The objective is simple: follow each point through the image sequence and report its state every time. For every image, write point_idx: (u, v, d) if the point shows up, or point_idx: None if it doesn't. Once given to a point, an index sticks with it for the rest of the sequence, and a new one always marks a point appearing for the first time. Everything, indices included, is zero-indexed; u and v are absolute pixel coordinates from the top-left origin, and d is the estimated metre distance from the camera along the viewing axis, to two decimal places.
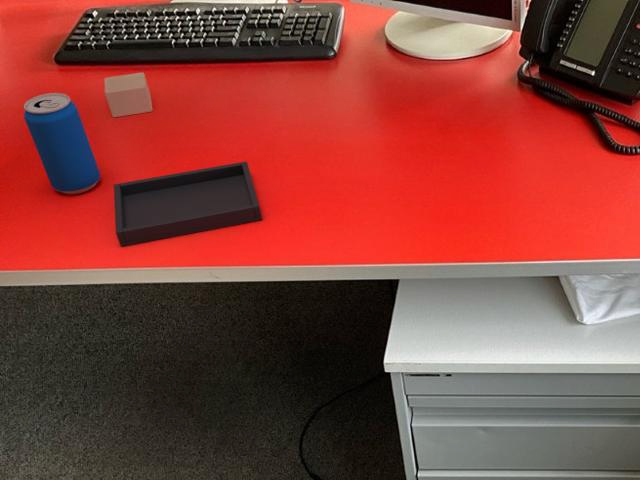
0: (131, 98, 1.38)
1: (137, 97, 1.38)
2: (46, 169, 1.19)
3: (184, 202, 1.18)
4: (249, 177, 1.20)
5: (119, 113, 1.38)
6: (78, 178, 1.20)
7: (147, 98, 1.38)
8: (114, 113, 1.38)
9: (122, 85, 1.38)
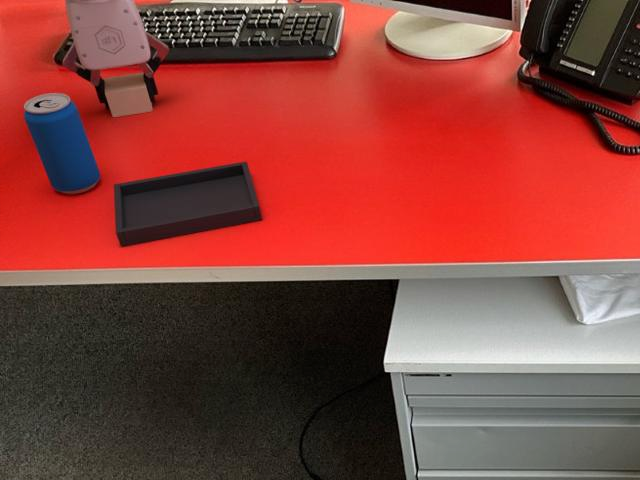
0: (131, 98, 1.38)
1: (137, 97, 1.38)
2: (46, 169, 1.19)
3: (184, 202, 1.18)
4: (249, 177, 1.20)
5: (119, 113, 1.38)
6: (78, 178, 1.20)
7: (147, 98, 1.38)
8: (114, 113, 1.38)
9: (122, 85, 1.38)
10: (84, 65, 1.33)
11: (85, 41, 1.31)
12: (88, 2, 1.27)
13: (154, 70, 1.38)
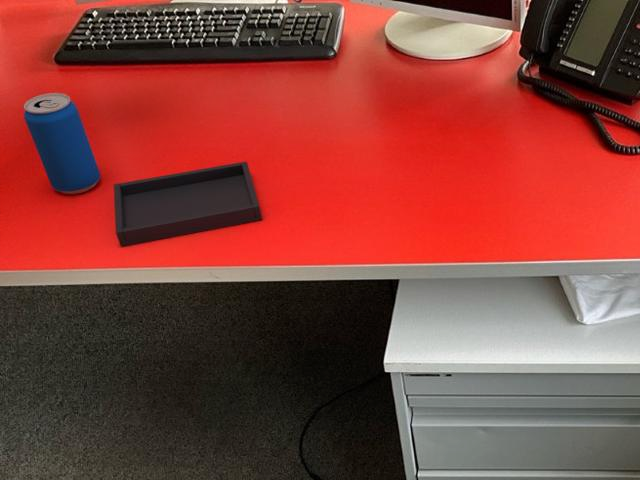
0: None
1: None
2: (46, 169, 1.19)
3: (184, 202, 1.18)
4: (249, 177, 1.20)
5: (84, 0, 1.24)
6: (78, 178, 1.20)
7: None
8: None
9: None
10: None
11: None
12: None
13: None
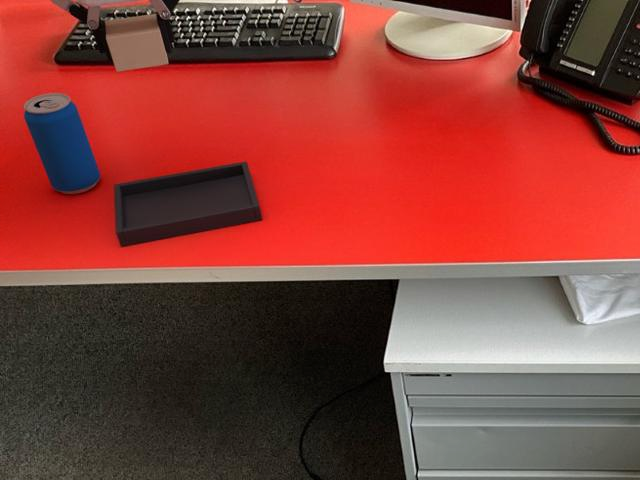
0: (141, 45, 1.05)
1: (149, 44, 1.05)
2: (46, 169, 1.19)
3: (184, 202, 1.18)
4: (249, 177, 1.20)
5: (125, 66, 1.05)
6: (78, 178, 1.20)
7: (162, 46, 1.05)
8: (118, 65, 1.05)
9: (129, 29, 1.05)
10: (79, 0, 1.00)
11: None
12: None
13: (171, 9, 1.05)
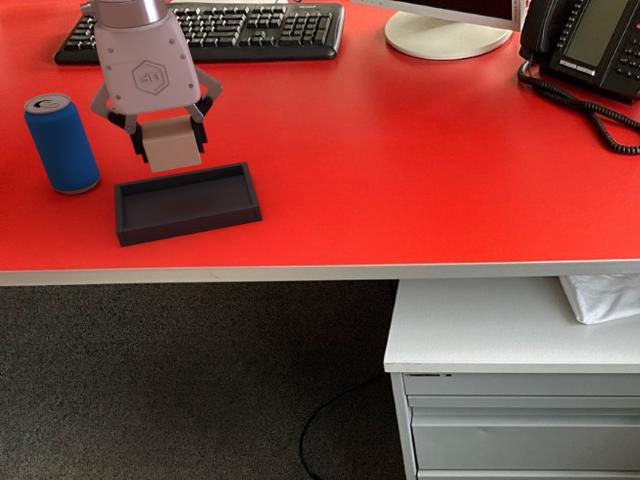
0: (176, 148, 1.09)
1: (183, 147, 1.09)
2: (46, 169, 1.19)
3: (184, 202, 1.18)
4: (249, 177, 1.20)
5: (160, 167, 1.10)
6: (78, 178, 1.20)
7: (195, 148, 1.10)
8: (154, 167, 1.10)
9: (164, 132, 1.09)
10: (117, 109, 1.04)
11: (119, 80, 1.02)
12: (124, 31, 0.99)
13: (204, 113, 1.10)
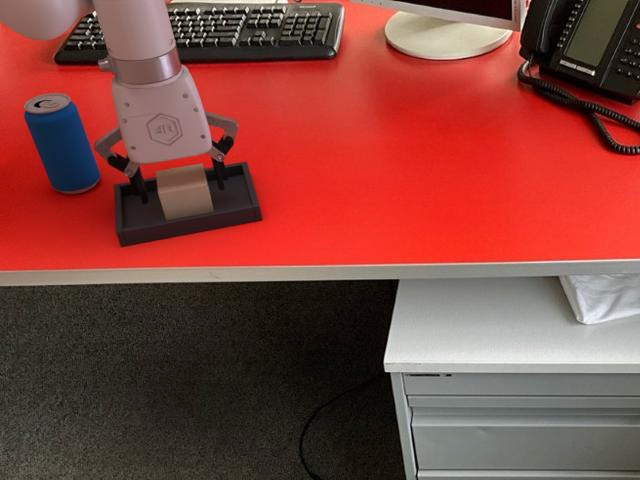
0: (189, 197, 1.14)
1: (196, 196, 1.14)
2: (46, 169, 1.19)
3: None
4: (249, 177, 1.20)
5: (174, 215, 1.15)
6: (78, 178, 1.20)
7: (208, 197, 1.15)
8: (168, 215, 1.14)
9: (178, 182, 1.14)
10: (132, 159, 1.09)
11: (134, 132, 1.07)
12: (140, 87, 1.03)
13: (225, 152, 1.14)
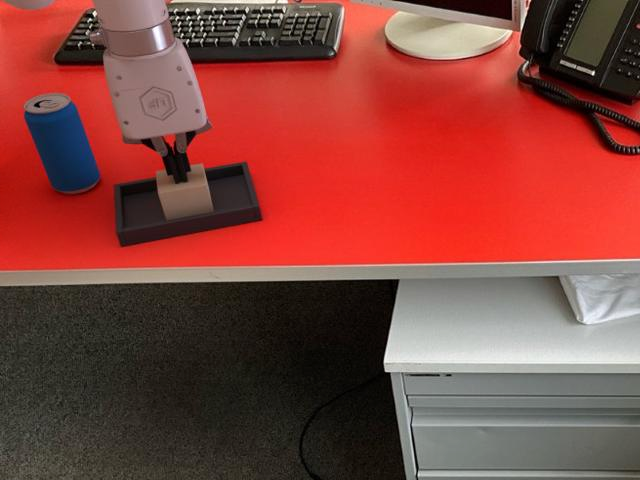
0: (189, 197, 1.14)
1: (196, 196, 1.14)
2: (46, 169, 1.19)
3: None
4: (249, 177, 1.20)
5: (174, 215, 1.15)
6: (78, 178, 1.20)
7: (208, 197, 1.15)
8: (168, 215, 1.14)
9: None
10: (125, 134, 1.07)
11: (127, 106, 1.04)
12: (133, 59, 1.01)
13: (187, 143, 1.12)
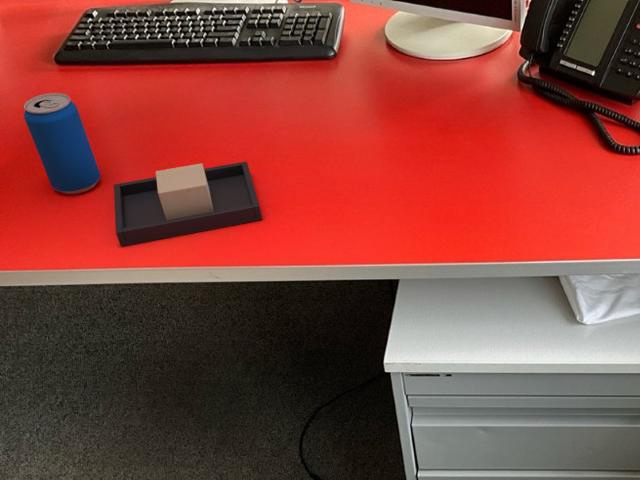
0: (189, 197, 1.14)
1: (196, 196, 1.14)
2: (46, 169, 1.19)
3: None
4: (249, 177, 1.20)
5: (174, 215, 1.15)
6: (78, 178, 1.20)
7: (208, 197, 1.15)
8: (168, 215, 1.14)
9: (178, 182, 1.14)
10: None
11: None
12: None
13: None
